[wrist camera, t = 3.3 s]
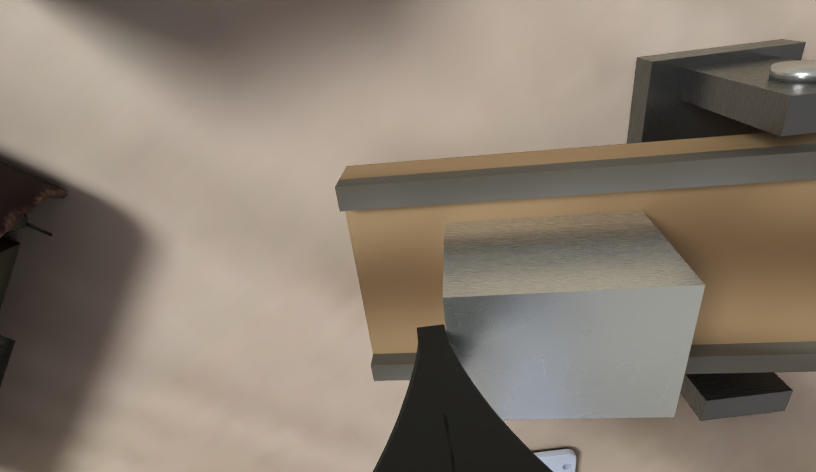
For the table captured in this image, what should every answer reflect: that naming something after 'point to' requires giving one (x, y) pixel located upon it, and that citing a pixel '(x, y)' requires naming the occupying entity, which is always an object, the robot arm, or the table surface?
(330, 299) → the table surface
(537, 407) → the block
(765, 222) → the beam
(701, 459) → the table surface
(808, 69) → the stand
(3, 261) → the diary
